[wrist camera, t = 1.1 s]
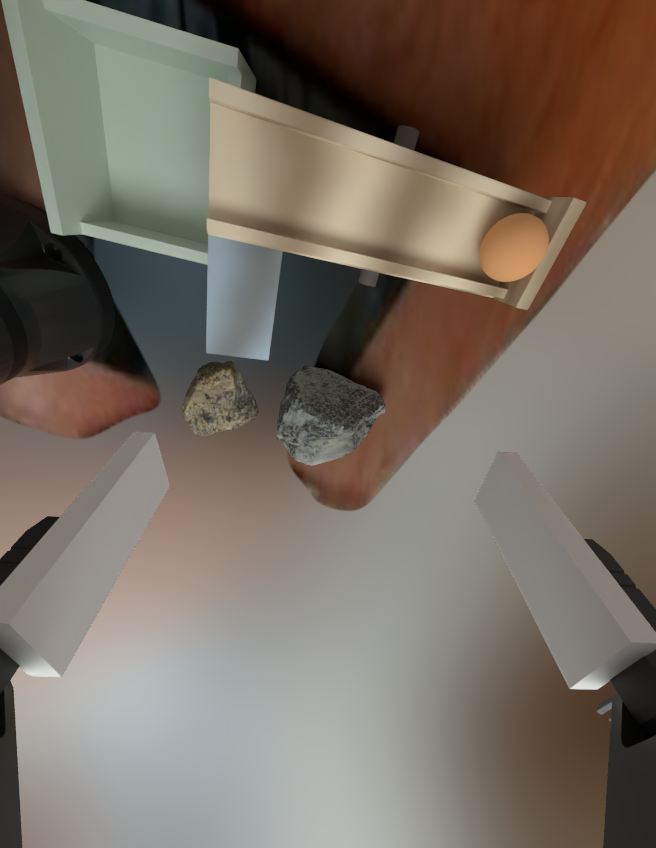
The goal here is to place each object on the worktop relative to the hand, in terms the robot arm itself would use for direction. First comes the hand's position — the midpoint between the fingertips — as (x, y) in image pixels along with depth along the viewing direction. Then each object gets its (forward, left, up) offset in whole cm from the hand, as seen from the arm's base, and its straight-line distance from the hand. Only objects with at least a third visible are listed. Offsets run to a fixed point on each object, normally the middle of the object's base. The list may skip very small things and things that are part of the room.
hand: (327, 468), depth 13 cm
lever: (+1, +6, -14) cm, 16 cm away
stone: (+1, -9, -23) cm, 25 cm away
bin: (-15, +9, -23) cm, 29 cm away
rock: (-10, -12, -23) cm, 28 cm away
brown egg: (+9, +9, -12) cm, 18 cm away
